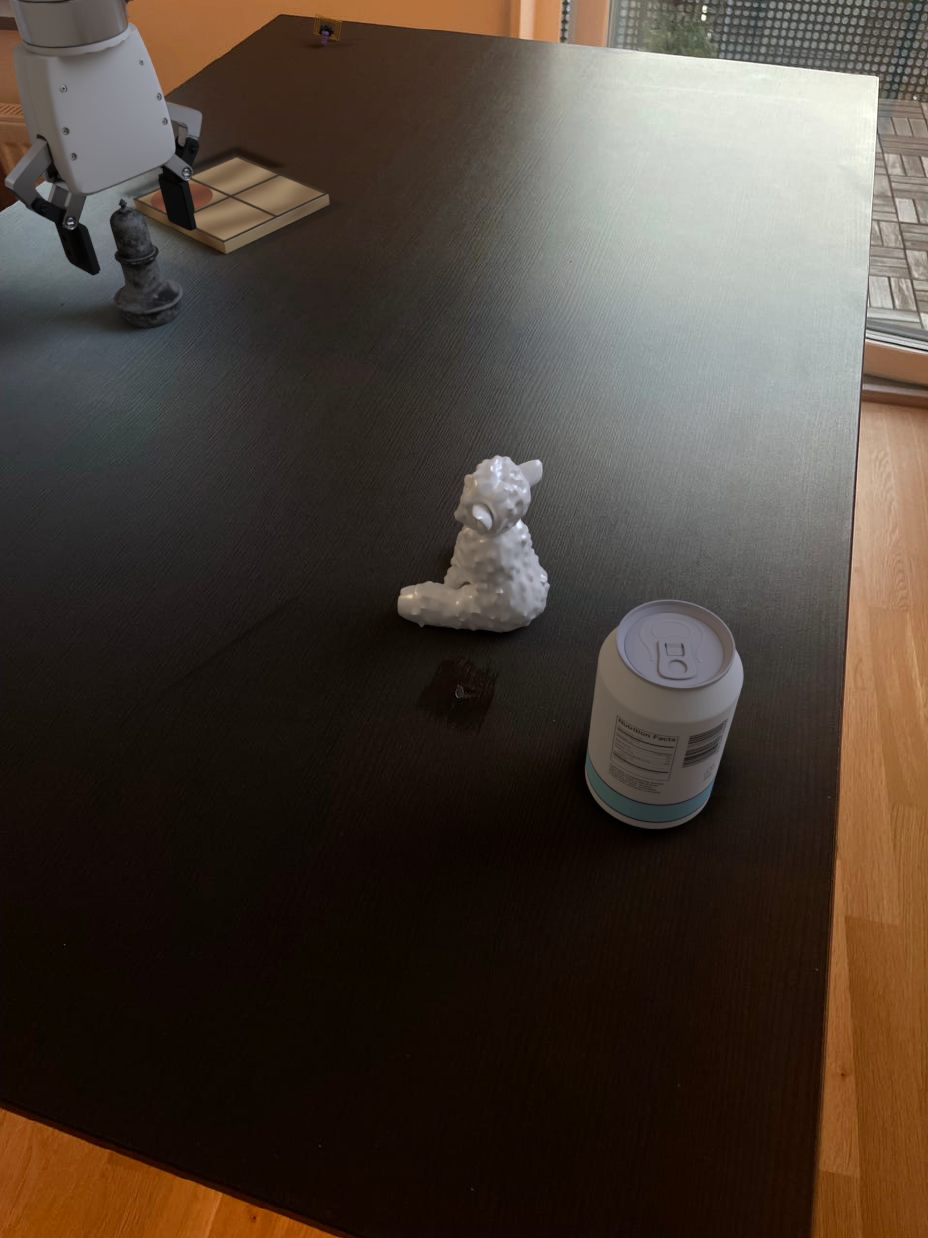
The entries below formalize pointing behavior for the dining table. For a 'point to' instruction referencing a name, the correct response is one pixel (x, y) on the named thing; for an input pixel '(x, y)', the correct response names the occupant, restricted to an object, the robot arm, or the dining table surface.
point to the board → (239, 203)
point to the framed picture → (326, 29)
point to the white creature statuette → (487, 557)
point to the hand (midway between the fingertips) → (136, 246)
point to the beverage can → (661, 713)
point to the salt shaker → (141, 273)
